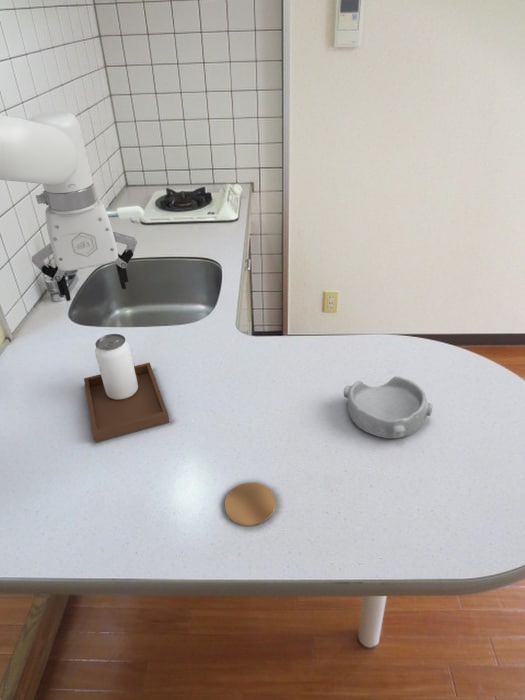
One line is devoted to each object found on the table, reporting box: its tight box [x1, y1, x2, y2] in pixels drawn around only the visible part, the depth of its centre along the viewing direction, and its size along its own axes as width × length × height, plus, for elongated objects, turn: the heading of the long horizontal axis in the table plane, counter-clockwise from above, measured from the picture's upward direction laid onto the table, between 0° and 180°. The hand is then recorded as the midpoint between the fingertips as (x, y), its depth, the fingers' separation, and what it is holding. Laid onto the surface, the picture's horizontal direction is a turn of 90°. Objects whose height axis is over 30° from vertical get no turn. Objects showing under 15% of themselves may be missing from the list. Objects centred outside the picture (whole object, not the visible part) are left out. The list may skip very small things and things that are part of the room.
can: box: [94, 333, 138, 400], centre depth 103 cm, size 6×6×12 cm
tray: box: [83, 362, 170, 444], centre depth 103 cm, size 18×14×2 cm
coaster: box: [224, 482, 277, 527], centre depth 82 cm, size 8×8×1 cm
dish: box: [343, 375, 433, 439], centre depth 96 cm, size 14×14×5 cm
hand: (96, 291), depth 94 cm, fingers open, 9 cm apart
